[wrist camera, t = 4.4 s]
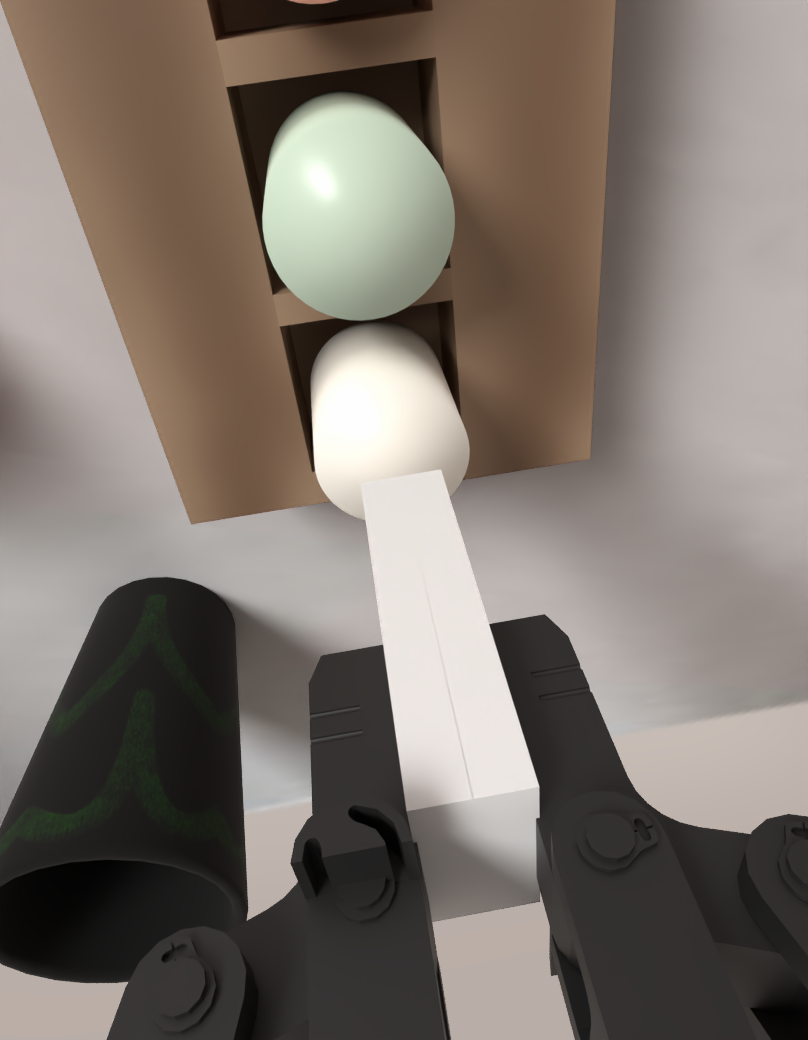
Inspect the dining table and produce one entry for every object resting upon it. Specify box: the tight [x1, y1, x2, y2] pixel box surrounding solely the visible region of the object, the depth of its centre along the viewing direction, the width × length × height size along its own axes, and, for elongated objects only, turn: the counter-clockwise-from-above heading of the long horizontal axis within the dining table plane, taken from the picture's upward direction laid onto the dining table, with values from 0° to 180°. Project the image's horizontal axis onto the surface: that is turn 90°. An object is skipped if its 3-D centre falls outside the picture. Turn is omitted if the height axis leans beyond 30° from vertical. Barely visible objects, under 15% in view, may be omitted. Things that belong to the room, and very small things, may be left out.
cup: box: [0, 577, 248, 983], centre depth 26 cm, size 8×8×12 cm
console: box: [0, 0, 616, 524], centre depth 18 cm, size 12×17×5 cm
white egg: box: [310, 320, 470, 520], centre depth 18 cm, size 4×4×4 cm
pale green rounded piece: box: [262, 90, 455, 321], centre depth 15 cm, size 4×4×4 cm
